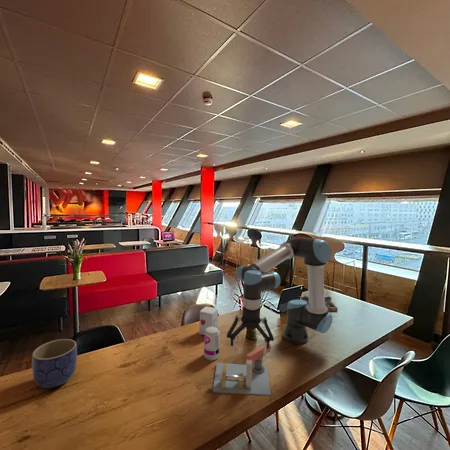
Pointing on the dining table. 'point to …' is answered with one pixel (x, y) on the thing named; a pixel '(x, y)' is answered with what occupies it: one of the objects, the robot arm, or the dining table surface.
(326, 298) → the towel
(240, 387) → the eye bracket
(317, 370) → the dining table surface
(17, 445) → the dining table surface
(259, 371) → the board
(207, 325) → the supplement box
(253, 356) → the handle
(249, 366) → the sliding bolt
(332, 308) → the towel corral
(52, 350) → the planter
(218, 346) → the supplement can
